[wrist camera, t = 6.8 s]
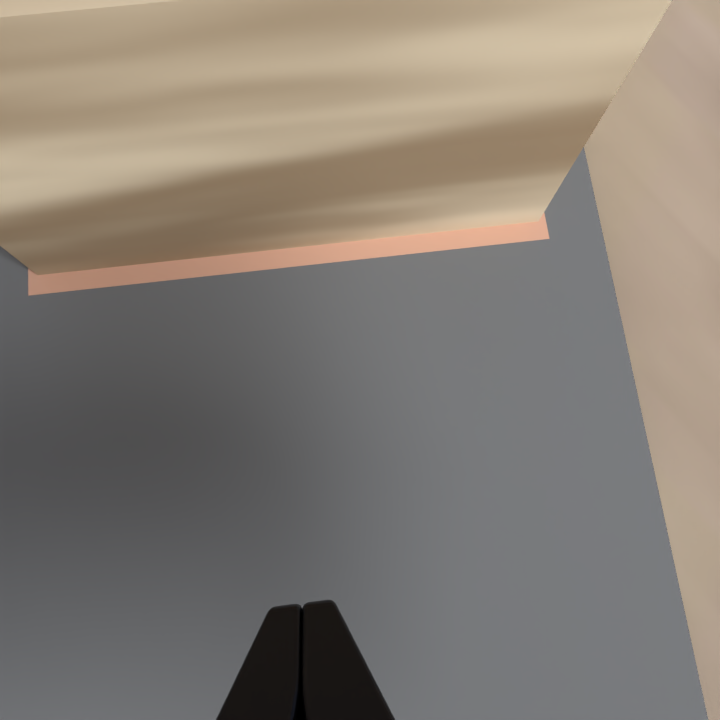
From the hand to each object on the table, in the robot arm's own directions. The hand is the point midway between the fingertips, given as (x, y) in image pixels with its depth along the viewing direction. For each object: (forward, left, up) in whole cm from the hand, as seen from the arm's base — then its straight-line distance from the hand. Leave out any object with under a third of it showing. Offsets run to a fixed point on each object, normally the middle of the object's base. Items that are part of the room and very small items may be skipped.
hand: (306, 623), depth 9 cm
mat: (+2, +6, -6) cm, 9 cm away
